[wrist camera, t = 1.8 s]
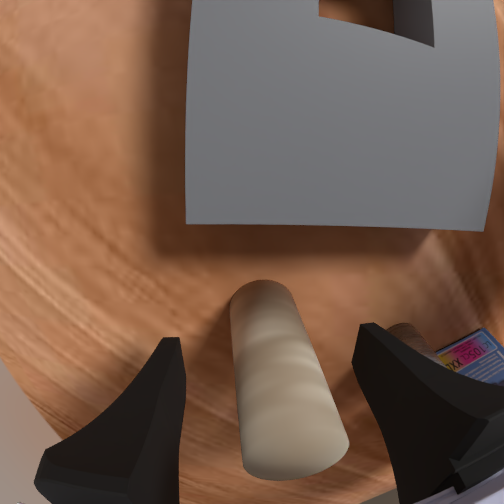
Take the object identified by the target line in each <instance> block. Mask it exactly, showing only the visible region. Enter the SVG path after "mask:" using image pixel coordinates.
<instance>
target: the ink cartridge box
mask: <svg viewBox="0 0 504 504" xmlns="http://www.w3.org/2000/svg"><path fill="white" fill-rule="evenodd" d="M435 353H436V354H437V356H438V357H439V358H440V360H441V361H442V362H443V363H444V365H445V366H446V367H447V368H448V369H450V370H452V371H454V372H457V373H459V374H462V375H464V376H467V377H470V378H473V379H476V380H479V381H482V382H486V383H490V384H494V385H498V386H504V347H503V346H502V345H501V344H500V343H499V342H498V341H497V340H496V339H495V338H494V337H493V336H492V335H491V334H490V332H489V331H488V330H487V329H486V328H482V329H480V330H479V331H477V332H475V333H473V334H471V335H469V336H468V337H466V338H464V339H462V340H460V341H458V342H456V343H454V344H452V345H450V346H448V347H446V348H444V349H442V350H440V351H438V352H435Z"/></svg>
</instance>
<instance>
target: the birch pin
mask: <svg viewBox="0 0 504 504" xmlns="http://www.w3.org/2000/svg"><path fill="white" fill-rule="evenodd" d="M230 323H231V336H232V349H233V362H234V374H235V386H236V397H237V408H238V419H239V430H240V440H241V450H242V460H243V467H244V469H245V470H246V471H247V472H248V473H249V474H251V475H252V476H255V477H257V478H260V479H265V480H274V481H284V480H293V479H299V478H303V477H307V476H310V475H313V474H316V473H319V472H321V471H323V470H325V469H327V468H329V467H330V466H332V465H334V464H335V463H336V462H338V461H339V460H340V459H341V458H342V457H343V456H344V455H345V453H346V452H347V450H348V447H349V440H348V437H347V434H346V432H345V429H344V426H343V424H342V421H341V418H340V416H339V413H338V411H337V408H336V405H335V403H334V400H333V398H332V395H331V392H330V390H329V387H328V385H327V382H326V380H325V377H324V375H323V372H322V369H321V367H320V364H319V362H318V359H317V357H316V354H315V352H314V349H313V347H312V344H311V342H310V339H309V337H308V334H307V332H306V329H305V327H304V324H303V322H302V319H301V317H300V314H299V312H298V309H297V307H296V304H295V302H294V299H293V297H292V295H291V293H290V291H289V290H288V289H287V288H286V287H285V286H284V285H282V284H280V283H278V282H276V281H272V280H256V281H253V282H250V283H248V284H246V285H244V286H242V287H241V288H240V289H239V290H238V291H237V292H236V293H235V294H234V296H233V298H232V300H231V302H230Z"/></svg>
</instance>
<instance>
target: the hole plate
mask: <svg viewBox="0 0 504 504" xmlns="http://www.w3.org/2000/svg"><path fill="white" fill-rule="evenodd" d="M393 11H394V34H392V33H388V32H385V31H381V30H378V29H374V28H370V27H366V26H362V25H358V24H354V23H349V22H345V21H340V20H335V19H330V18H324V17H319V0H192V10H191V22H190V36H189V51H188V70H187V93H186V131H185V200H186V224H271V225H330V226H367V227H397V228H422V229H444V230H463V231H481V232H483V231H484V226H485V222H486V217H487V212H488V207H489V202H490V197H491V191H492V185H493V178H494V171H495V164H496V155H497V145H498V134H499V118H500V60H499V45H498V34H497V25H496V17H495V10H494V3H493V0H393Z"/></svg>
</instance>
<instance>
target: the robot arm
mask: <svg viewBox="0 0 504 504" xmlns="http://www.w3.org/2000/svg"><path fill="white" fill-rule="evenodd" d="M352 365H353V369H354V372H355V375H356V378H357V381H358V383H359V385H360V388H361V390H362V392H363V394H364V396H365V398H366V400H367V402H368V404H369V406H370V408H371V410H372V412H373V414H374V416H375V418H376V420H377V422H378V424H379V427H380V429H381V431H382V434H383V437H384V440H385V443H386V446H387V450H388V453H389V457H390V460H391V464H392V467H393V472H394V476H395V481H396V485H397V491H398V497H399V503H400V504H504V386H498V385H494V384H490V383H486V382H482V381H479V380H476V379H473V378H470V377H467V376H464V375H462V374H459V373H457V372H454V371H452V370H450V369H448V368H446V367H444V366H442V365H440V364H438V363H436V362H434V361H432V360H431V359H429V358H427V357H425V356H424V355H422V354H420V353H419V352H417V351H416V350H414V349H413V348H411V347H410V346H408V345H407V344H405V343H404V342H402V341H401V340H399V339H398V338H396V337H395V336H393V335H392V334H391V333H389V332H388V331H386V330H385V329H383V328H382V327H380V326H379V325H377V324H375V323H374V322H373V323H365V324H360V327H359V332H358V337H357V341H356V345H355V350H354V354H353V358H352ZM185 400H186V373H185V367H184V362H183V356H182V350H181V344H180V338H179V337H163V338H162V339H161V341H160V342H159V344H158V346H157V347H156V349H155V350H154V352H153V353H152V355H151V356H150V358H149V359H148V361H147V362H146V364H145V365H144V366H143V368H142V369H141V371H140V372H139V373H138V375H137V376H136V377H135V378H134V380H133V381H132V382H131V383H130V385H129V386H128V387H127V388H126V389H125V391H124V392H123V393H122V394H121V395H120V396H119V397H118V398H117V399H116V400H115V401H114V402H113V403H112V404H111V405H110V406H109V407H108V408H107V409H106V410H105V411H104V412H102V413H101V414H100V415H99V416H98V417H97V418H95V419H94V420H93V421H92V422H90V423H89V424H88V425H86V426H85V427H84V428H82V429H81V430H79V431H78V432H76V433H75V434H73V435H71V436H70V437H68V438H67V439H65V440H63V441H61V442H59V443H57V444H55V445H54V446H52V447H50V448H48V449H46V450H45V451H44V454H43V456H42V458H41V461H40V464H39V467H38V470H37V474H36V476H35V480H34V484H35V486H36V489H37V490H38V491H39V492H40V493H41V494H42V495H43V496H44V497H45V498H46V499H47V500H48V501H50V502H51V503H52V504H179V445H180V437H181V430H182V422H183V415H184V408H185ZM17 504H24V503H21V502H17Z"/></svg>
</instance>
